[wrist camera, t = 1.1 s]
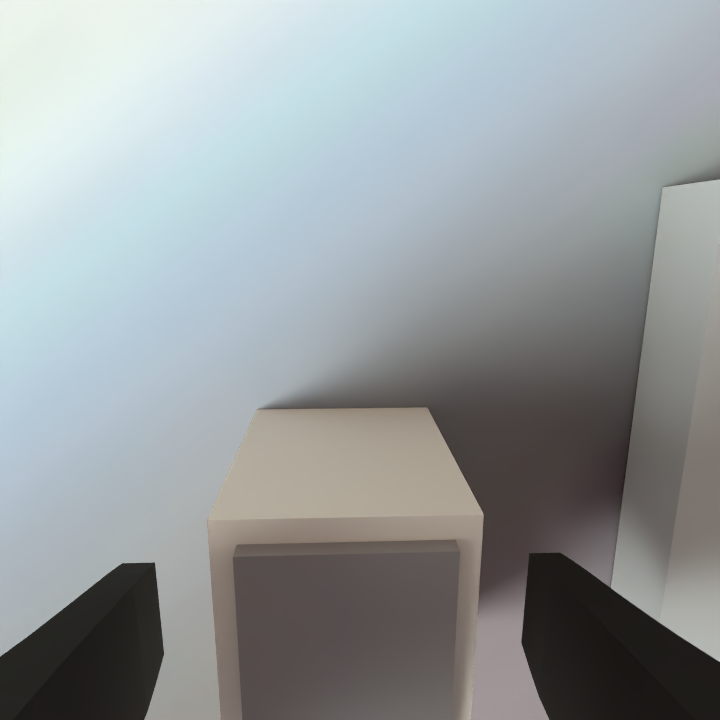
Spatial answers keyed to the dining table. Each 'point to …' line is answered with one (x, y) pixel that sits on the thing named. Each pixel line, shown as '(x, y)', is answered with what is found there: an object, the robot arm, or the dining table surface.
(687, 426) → the socket plate
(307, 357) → the dining table surface
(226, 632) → the plug block
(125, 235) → the dining table surface
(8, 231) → the dining table surface
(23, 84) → the dining table surface
